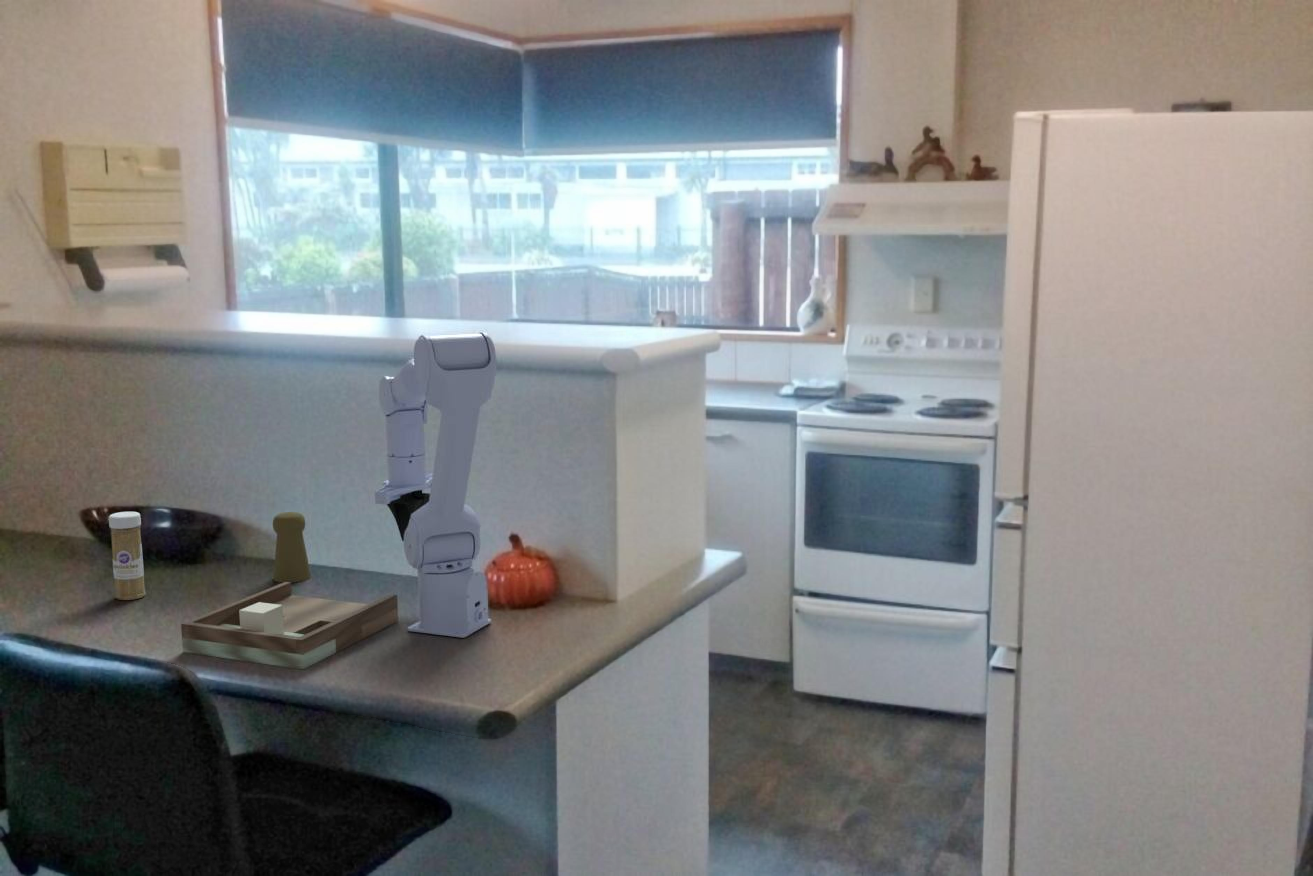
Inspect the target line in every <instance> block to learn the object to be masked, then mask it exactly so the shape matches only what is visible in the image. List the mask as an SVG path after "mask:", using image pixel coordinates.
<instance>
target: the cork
mask: <svg viewBox="0 0 1313 876" xmlns="http://www.w3.org/2000/svg"><path fill="white" fill-rule="evenodd" d="M272 521H273V522H272V528H273V531H274V532H275V533H276V541H275V552H274V553H275V554H274V555H275V556H274V566H273V567H274V569H273V581H274V582H276V583H280V584H281V583H284V582H291V584H292V583H298V582H304V581H308V580H309V579H311V577H312V575H311V570H310V565H309V558H308V555H307V549H306V544H305V543H306V542H305V540H304V533H303V532H304V530H305V528H306V519H305V517H304V515H303V514H302V513H300V512H295V511H287V512H282V513H281V512H280V513H278V514H276V515H275V516H274V517H273V520H272Z"/></svg>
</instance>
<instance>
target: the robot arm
mask: <svg viewBox="0 0 1313 876" xmlns="http://www.w3.org/2000/svg"><path fill="white" fill-rule="evenodd" d="M496 355H497V354H496V348H495V344H494V342H493V339H492V338H491V336H490V335H489V334H488V333H487V332H485V331H483V332H482V331H481V332H480V331H479V332H478V333H465V334H464V333H463V334H462V333H461V334H446V335H443V334H441V335H426V334H421V335H420V336H418V338H417V339H416V341H415V342H414V347H413V356H412V357H410V356H409V357H408V359H407V361H406V363H405V364H404V365H402V366H401V368H400V369H399V371H397V373H396V374H395V375H394V376H389V375H383V376H381V379H380V381H379V385H378V398H379V406H380V408H381V411H382V413H383V414H384V415H385V433H386V434H385V435H386V436H385V437H386V453H387V454H386V456H387V457H386V458H387V476H388V477H387V479H386V480H384V481H383V482H382V485H383V486H382V487H381V488H379V489H377V490H375V491H374V498H375V499H374V500H375V505H377V504H378V505H385V506H387V508H388V509H389V510H390V512H391V514H392V515H393V518H394V519H395V522H396V525H397V529H398V532H399V535H400V538H401V541H402V542H403V550H404V554H405V560H407V561H406V562H407V563H408V565H410V566H411V567H412V569H414V570H415V569H416V570H417V588H418V611H419V612H418V613H419V621H417V622H415V623H413V624H412V625H409V626H408V627H407V631H408V632H414V633H415V632H416V633H422V634H429V635H430V634H431V635H438V636H445V637H446V636H447V637H454V638H455V637H456V638H461V639H462V638H463V639H464V638H466V637H468V636H470V635H472V634H474V632H475V633H476V632H477V631H478V630H480V629H481V628H484V627H485V626H488V625H489V624H490V623H492V619H491V618H489V597H488V593H489V592H488V582H487V578H486V575H485V574H484V572H482V571H480V570H476V569H473V568H472V567H473V561H475V560H476V559H477V557H478V556H479V554H480V551H481V537H480V535H481V534H480V533H481V524H480V521H479V518H478V516H477V514H476V512H475V510H474V509H473V508H472V507H471V506H469V505H468V504H466V497H467V491H468V485H469V477H470V472H471V466H472V460H473V454H474V449H475V448H474V447H475V444H476V443H475V442H476V441H475V440H476V436H477V430H478V424H479V417H480V411H481V408H482V406H483V405H484V404H486V403H487V402H488V401H489V400H490V399H491V398H492V393H493V390H494V385H495V379H496V372H497V367H498V362H497V356H496ZM429 406H431V407H433V408H435V409H437V410H439V411H440V414H441V415H440V422H439V430H438V435H437V443H436V450H435V457H434V464H433V471H432V473H427V465H426V464H427V463H426V460H427V459H426V438H425V436H426V435H425V434H426V433H425V425H426V424H427V421H428V409H429ZM427 489H430V490H429V491H430V492H429V493H428V492H427V493H426V492H423V491H424V490H427Z"/></svg>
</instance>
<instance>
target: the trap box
mask: <svg viewBox="0 0 1313 876" xmlns="http://www.w3.org/2000/svg"><path fill="white" fill-rule="evenodd" d="M292 593H293V592H292V583H291V582H284V583H281V582H280V583H279V584H277V585H275V586H271V587H269V588H267V589H265V590H262V591H260V592H257V593H255V594H252V595H249V596H247V597H245V598H242V599H239V600H237V601H234V602H232V603H229V604H227V605H223V606H221V607H219V608H217V609H214V610H211V611H209V612H207V613H204V614H202V615H199V616H197V617H194V618H192V619H189V620H186V621H183V622H181V623H180V629H181V630H180V631H181V639H182V640H181V641H182V642H181V643H182V644H181V645H182V652H183V653H188V654H193V655H194V654H195V655H202V656H207V657H209V656H210V657H216V658H223V659H229V660H235V661H236V660H237V661H242V662H249V663H250V662H251V663H257V664H261V665H262V664H263V665H270V666H276V667H285V668H290V669H299V670H305V669H307V668H309V667H311V666H313V665H315V664H317V663H319V662H321V661H323V660H324V659H326V658H330V657H331V656H333V655H334V654H337V653H339V652H340V651H342V650H344V649H346V648H348V647H350V646H352V645H354V644H355V643H358V642H360V641H362V640H364V639H366V638H367V637H369V636H372V635H374V634H376V633H378V632H379V631H381V630H384V629H385V628H387V627H389V626H391V625H393V624H395V623H398V622H399V610H398V609H399V608H398V607H399V606H398V605H399V604H398V594H395V593H391V594H389V595H386V596H384V597H382V598H380V599H378V600H376V601H373V602H371V603H369V604H368V603H360V602H351V601H345V600H344V601H343V600H335V599H326V598H317V597H310V596H303V595H302V596H301V595H293V594H292ZM258 602H262V603H270V604H278V605H283V622H284V633H283V634H275V633H267V632H260V631H252V630H245V629H240V615H239V610H241V609H243V608H246V607H248V606H251V605H253V604H256V603H258Z"/></svg>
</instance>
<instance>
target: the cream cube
mask: <svg viewBox="0 0 1313 876" xmlns="http://www.w3.org/2000/svg"><path fill="white" fill-rule="evenodd" d="M239 615H240V629H245V630H252V631H260V632H267V633H275V634H283V633H284V622H283V605H278V604H270V603H262V602H258V603H256V604H253V605H251V606H248V607H246V608H243V609H241V610H239Z"/></svg>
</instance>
